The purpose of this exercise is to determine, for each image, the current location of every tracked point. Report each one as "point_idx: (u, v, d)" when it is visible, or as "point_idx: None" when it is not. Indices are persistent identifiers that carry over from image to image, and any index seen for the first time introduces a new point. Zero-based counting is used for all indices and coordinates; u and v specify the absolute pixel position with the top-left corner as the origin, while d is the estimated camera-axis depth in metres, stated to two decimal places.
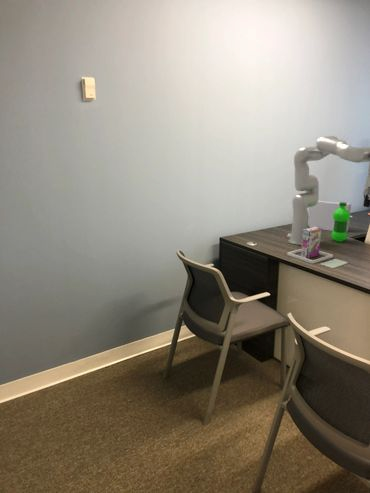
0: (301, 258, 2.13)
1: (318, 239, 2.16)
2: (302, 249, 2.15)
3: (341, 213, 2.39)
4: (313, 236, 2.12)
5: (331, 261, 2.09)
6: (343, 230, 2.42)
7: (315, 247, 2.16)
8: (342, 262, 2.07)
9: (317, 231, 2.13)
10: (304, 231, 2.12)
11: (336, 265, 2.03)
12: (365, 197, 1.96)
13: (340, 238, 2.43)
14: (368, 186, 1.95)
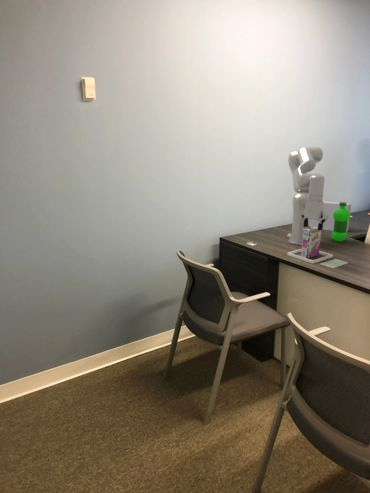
0: (301, 258, 2.13)
1: (318, 239, 2.16)
2: (302, 249, 2.15)
3: (341, 213, 2.39)
4: (313, 236, 2.12)
5: (331, 261, 2.09)
6: (343, 230, 2.42)
7: (315, 247, 2.16)
8: (342, 262, 2.07)
9: (317, 231, 2.13)
10: (304, 231, 2.12)
11: (336, 265, 2.03)
12: (324, 221, 2.07)
13: (340, 238, 2.43)
14: (321, 211, 2.06)
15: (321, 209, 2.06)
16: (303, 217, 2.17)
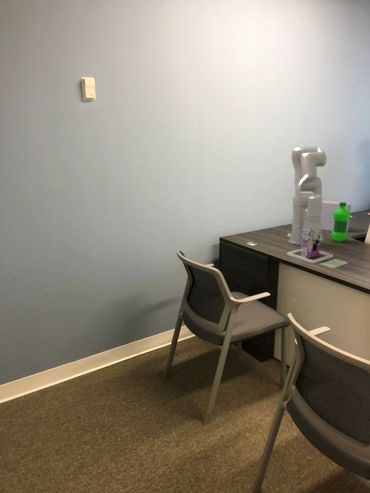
0: (301, 258, 2.13)
1: (318, 239, 2.16)
2: (302, 249, 2.15)
3: (341, 213, 2.39)
4: None
5: (331, 261, 2.09)
6: (343, 230, 2.42)
7: None
8: (342, 262, 2.07)
9: None
10: (304, 231, 2.12)
11: (336, 265, 2.03)
12: (318, 242, 2.12)
13: (340, 238, 2.43)
14: (319, 231, 2.10)
15: (319, 229, 2.10)
16: None
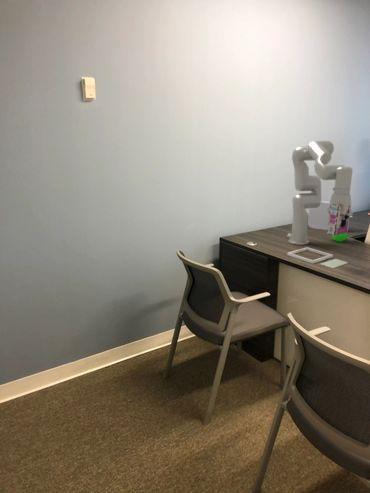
0: (301, 258, 2.13)
1: None
2: (329, 225, 1.98)
3: None
4: None
5: (331, 261, 2.09)
6: None
7: None
8: (342, 262, 2.07)
9: None
10: (332, 205, 1.95)
11: (336, 265, 2.03)
12: (347, 218, 1.95)
13: (340, 238, 2.43)
14: (349, 205, 1.93)
15: (348, 203, 1.92)
16: None
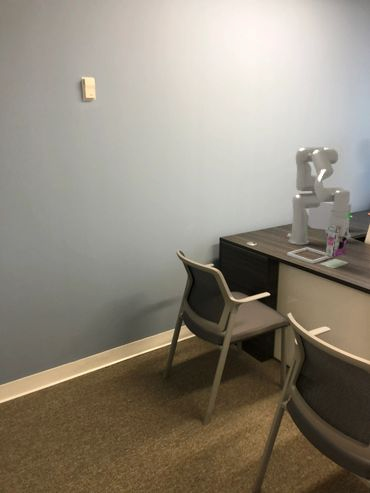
0: (301, 258, 2.13)
1: None
2: (327, 247, 2.01)
3: None
4: None
5: (331, 261, 2.09)
6: None
7: None
8: (342, 262, 2.07)
9: None
10: (330, 228, 1.98)
11: (336, 265, 2.03)
12: (345, 240, 1.98)
13: None
14: (346, 228, 1.96)
15: (346, 226, 1.96)
16: None
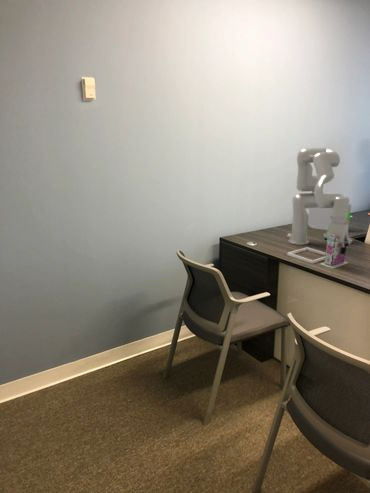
0: (301, 258, 2.13)
1: None
2: (326, 255, 2.03)
3: None
4: None
5: None
6: None
7: (340, 253, 2.03)
8: None
9: None
10: (329, 236, 2.00)
11: (336, 265, 2.03)
12: (347, 245, 1.98)
13: None
14: (346, 234, 1.97)
15: (345, 232, 1.97)
16: (326, 240, 2.07)
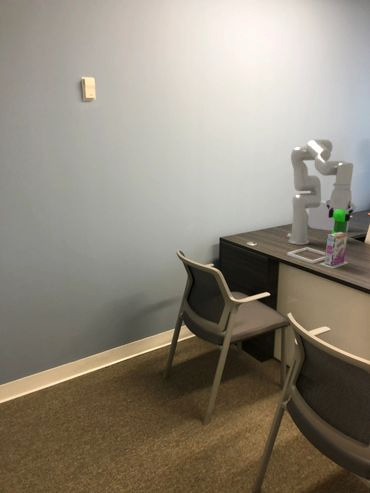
0: (301, 258, 2.13)
1: (344, 245, 2.03)
2: (326, 255, 2.03)
3: (341, 213, 2.39)
4: (339, 242, 2.00)
5: None
6: (343, 230, 2.42)
7: (340, 253, 2.03)
8: None
9: (343, 237, 2.01)
10: (329, 236, 2.00)
11: (336, 265, 2.03)
12: (351, 212, 1.94)
13: None
14: (349, 201, 1.93)
15: (349, 199, 1.93)
16: (328, 207, 2.04)
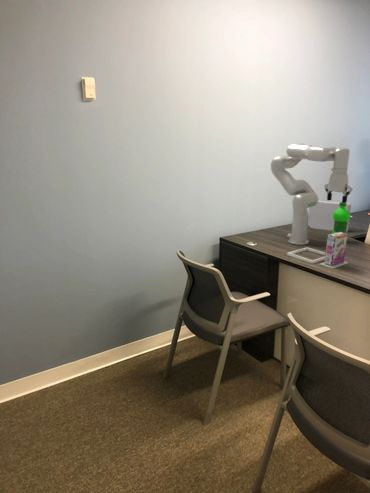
0: (301, 258, 2.13)
1: (344, 245, 2.03)
2: (326, 255, 2.03)
3: (341, 213, 2.39)
4: (339, 242, 2.00)
5: None
6: (343, 230, 2.42)
7: (340, 253, 2.03)
8: None
9: (343, 237, 2.01)
10: (329, 236, 2.00)
11: (336, 265, 2.03)
12: (348, 194, 2.11)
13: None
14: (346, 183, 2.10)
15: (346, 182, 2.10)
16: (327, 191, 2.20)
